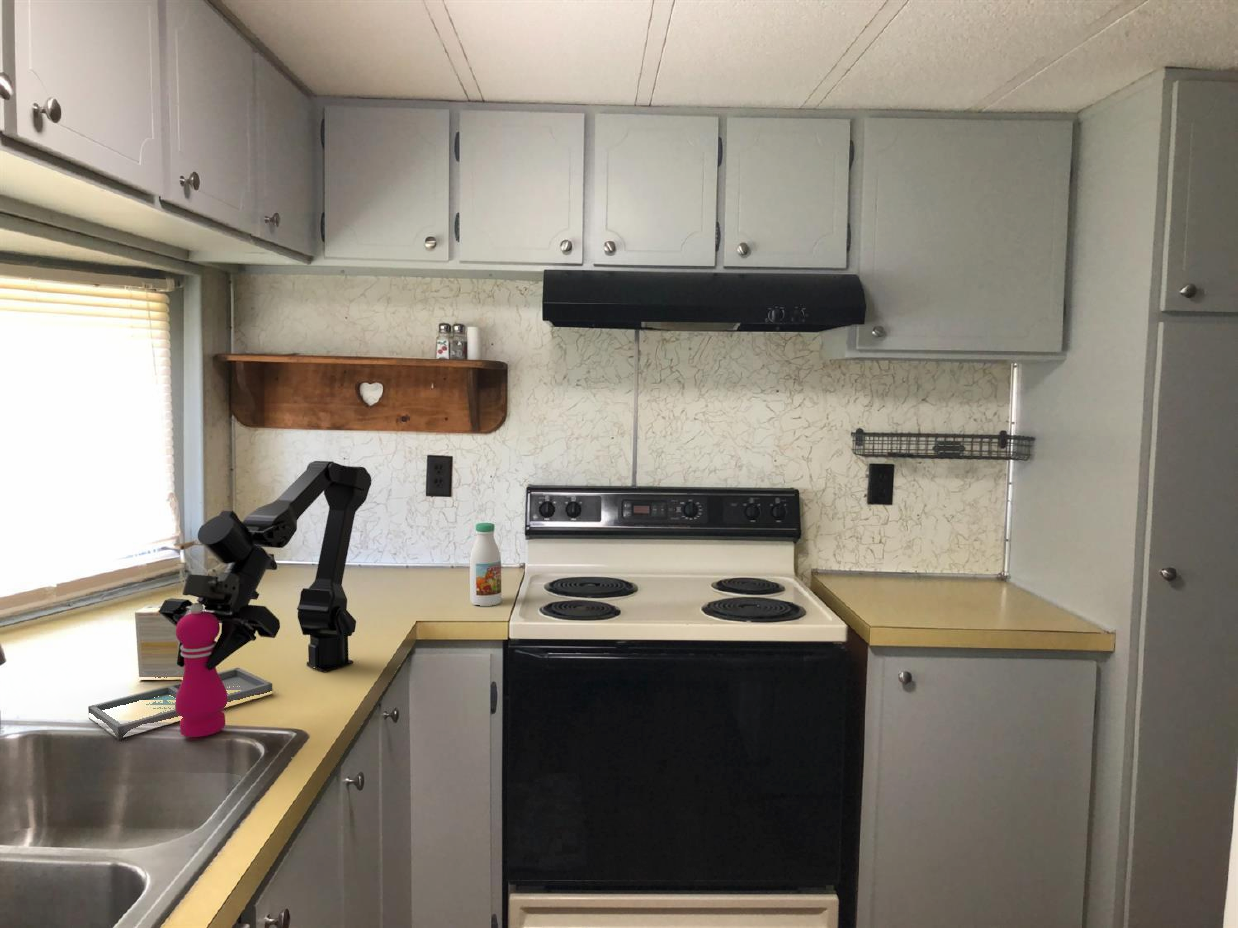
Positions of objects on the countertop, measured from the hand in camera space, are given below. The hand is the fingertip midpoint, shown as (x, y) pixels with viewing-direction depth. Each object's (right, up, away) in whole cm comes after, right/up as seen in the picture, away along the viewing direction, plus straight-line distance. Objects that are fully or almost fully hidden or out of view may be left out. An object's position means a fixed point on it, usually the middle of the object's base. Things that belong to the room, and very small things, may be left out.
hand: (193, 667), depth 125 cm
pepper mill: (0, -10, +2) cm, 11 cm away
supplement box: (-19, -9, +27) cm, 35 cm away
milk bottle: (+31, -4, +80) cm, 86 cm away
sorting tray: (-9, -10, +14) cm, 19 cm away
